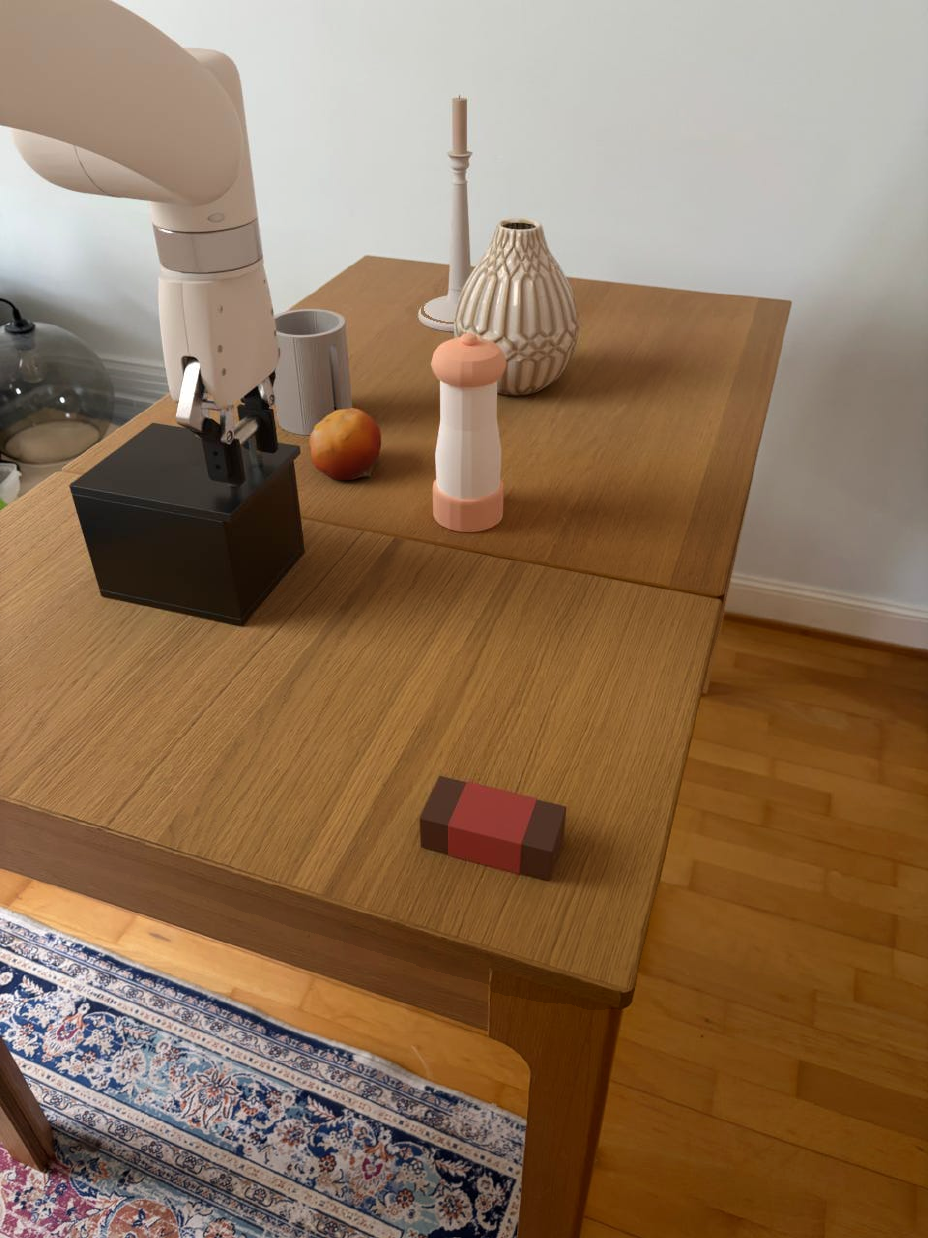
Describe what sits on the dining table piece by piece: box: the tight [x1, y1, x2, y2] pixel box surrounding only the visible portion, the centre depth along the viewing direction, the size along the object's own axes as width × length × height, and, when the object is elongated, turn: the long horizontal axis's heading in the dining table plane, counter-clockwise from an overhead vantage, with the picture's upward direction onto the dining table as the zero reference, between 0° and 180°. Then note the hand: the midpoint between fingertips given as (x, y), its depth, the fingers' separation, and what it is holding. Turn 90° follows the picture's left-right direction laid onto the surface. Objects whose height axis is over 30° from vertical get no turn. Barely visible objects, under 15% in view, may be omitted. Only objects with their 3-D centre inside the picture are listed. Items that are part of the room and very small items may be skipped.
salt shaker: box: [430, 333, 506, 533], centre depth 92 cm, size 7×7×19 cm
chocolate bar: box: [419, 775, 567, 882], centre depth 63 cm, size 9×4×3 cm, turn 72°
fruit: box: [308, 407, 382, 481], centre depth 104 cm, size 8×8×8 cm
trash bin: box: [71, 460, 306, 627], centre depth 86 cm, size 15×13×11 cm
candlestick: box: [417, 94, 473, 333], centre depth 135 cm, size 13×13×30 cm
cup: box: [273, 308, 353, 436], centre depth 113 cm, size 9×9×12 cm
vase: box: [453, 217, 580, 396], centre depth 119 cm, size 16×16×20 cm
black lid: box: [68, 413, 302, 523], centre depth 81 cm, size 15×13×5 cm
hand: (244, 463), depth 80 cm, fingers closed on black lid, 5 cm apart
